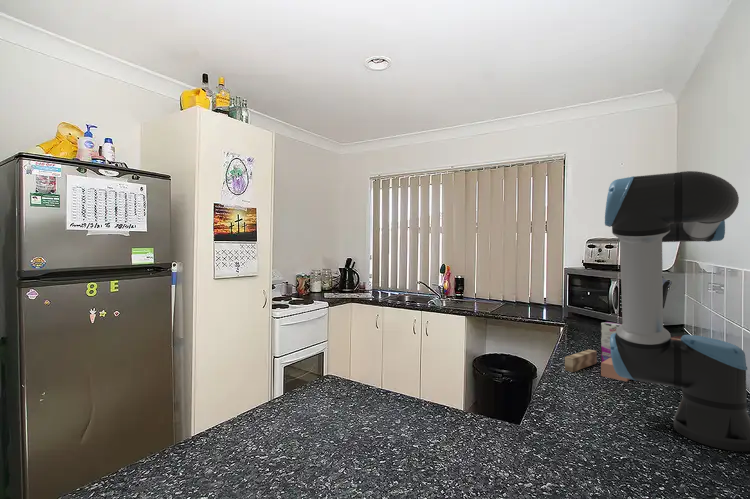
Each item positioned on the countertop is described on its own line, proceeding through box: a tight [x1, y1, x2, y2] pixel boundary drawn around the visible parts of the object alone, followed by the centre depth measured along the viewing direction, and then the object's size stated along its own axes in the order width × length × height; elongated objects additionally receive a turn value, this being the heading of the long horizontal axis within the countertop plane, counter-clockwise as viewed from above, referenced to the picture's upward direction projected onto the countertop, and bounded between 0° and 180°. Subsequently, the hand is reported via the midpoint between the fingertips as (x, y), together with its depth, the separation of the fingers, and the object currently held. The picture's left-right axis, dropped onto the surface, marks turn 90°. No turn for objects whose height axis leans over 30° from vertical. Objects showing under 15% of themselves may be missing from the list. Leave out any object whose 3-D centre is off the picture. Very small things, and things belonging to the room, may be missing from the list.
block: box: [600, 358, 631, 382], centre depth 136 cm, size 10×8×5 cm
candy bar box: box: [600, 321, 623, 364], centre depth 147 cm, size 11×5×16 cm, turn 25°
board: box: [564, 349, 598, 373], centre depth 146 cm, size 19×3×5 cm, turn 126°
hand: (648, 328), depth 128 cm, fingers closed
